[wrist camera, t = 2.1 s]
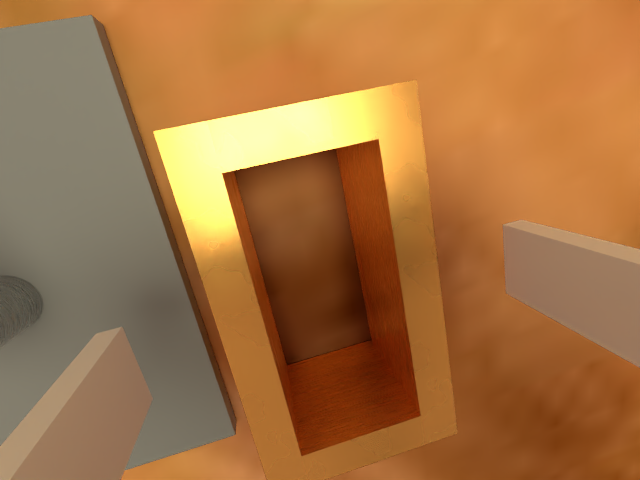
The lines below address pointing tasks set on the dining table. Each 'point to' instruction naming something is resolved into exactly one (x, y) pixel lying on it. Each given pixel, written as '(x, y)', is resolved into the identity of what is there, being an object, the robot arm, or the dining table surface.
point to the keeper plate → (94, 239)
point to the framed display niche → (374, 270)
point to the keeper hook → (17, 307)
